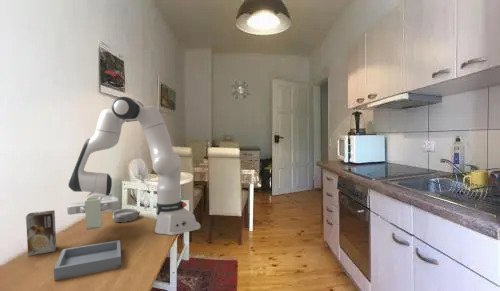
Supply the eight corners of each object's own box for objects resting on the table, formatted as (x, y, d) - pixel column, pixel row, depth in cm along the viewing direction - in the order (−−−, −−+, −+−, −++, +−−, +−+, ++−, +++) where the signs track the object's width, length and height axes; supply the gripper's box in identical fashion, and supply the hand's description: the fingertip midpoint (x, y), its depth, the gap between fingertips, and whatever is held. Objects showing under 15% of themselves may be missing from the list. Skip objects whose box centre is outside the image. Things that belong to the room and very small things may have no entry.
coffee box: (57, 246, 122) (55, 209, 121) (54, 251, 116) (53, 213, 115) (30, 250, 117) (29, 212, 117) (27, 256, 112) (25, 216, 111)
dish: (119, 225, 151) (119, 216, 151) (106, 220, 159) (106, 212, 159) (143, 218, 162) (143, 210, 162) (131, 214, 171) (130, 206, 171)
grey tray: (120, 249, 117) (119, 240, 117) (121, 267, 101) (121, 256, 101) (63, 259, 108) (62, 249, 108) (54, 280, 92) (53, 268, 92)
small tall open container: (101, 223, 124) (100, 196, 123) (101, 227, 117) (99, 199, 117) (87, 225, 121) (86, 198, 121) (86, 230, 115) (84, 201, 115)
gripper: (68, 199, 126) (63, 206, 114) (118, 194, 135) (119, 199, 123) (69, 213, 127) (64, 221, 114) (119, 206, 136) (119, 213, 123)
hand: (93, 209), depth 119 cm, fingers closed on small tall open container, 5 cm apart
